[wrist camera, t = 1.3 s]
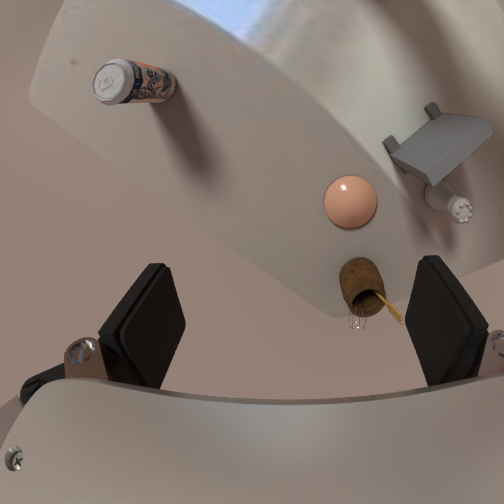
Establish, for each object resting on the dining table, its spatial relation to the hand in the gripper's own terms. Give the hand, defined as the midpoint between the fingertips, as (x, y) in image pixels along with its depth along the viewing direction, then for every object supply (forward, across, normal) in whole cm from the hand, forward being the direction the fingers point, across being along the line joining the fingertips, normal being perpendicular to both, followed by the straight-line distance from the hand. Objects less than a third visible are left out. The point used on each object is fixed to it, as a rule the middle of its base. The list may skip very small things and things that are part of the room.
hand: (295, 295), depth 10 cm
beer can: (+27, +16, -12) cm, 33 cm away
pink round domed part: (+27, -8, +6) cm, 28 cm away
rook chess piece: (+27, -20, +4) cm, 34 cm away
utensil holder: (+27, -9, +16) cm, 33 cm away
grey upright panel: (+27, -17, -3) cm, 32 cm away
